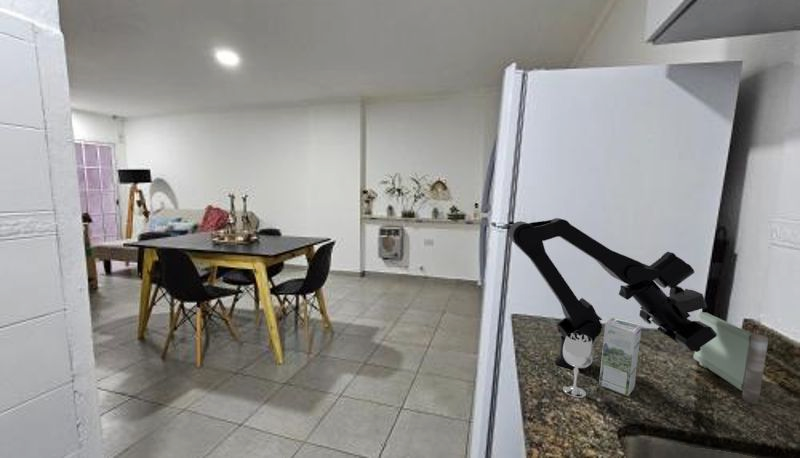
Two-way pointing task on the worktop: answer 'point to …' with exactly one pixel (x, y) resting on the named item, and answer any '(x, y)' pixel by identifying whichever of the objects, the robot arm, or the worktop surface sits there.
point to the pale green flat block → (725, 350)
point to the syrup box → (620, 356)
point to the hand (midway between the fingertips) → (696, 349)
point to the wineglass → (577, 359)
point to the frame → (753, 369)
